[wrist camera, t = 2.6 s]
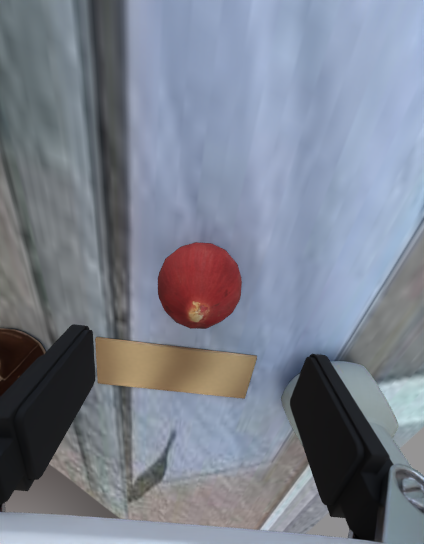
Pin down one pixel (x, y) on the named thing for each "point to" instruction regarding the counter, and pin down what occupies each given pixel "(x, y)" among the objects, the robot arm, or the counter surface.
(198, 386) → the row strip
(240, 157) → the counter surface
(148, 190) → the counter surface
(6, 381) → the coffee cup
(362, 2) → the counter surface
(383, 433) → the air freshener
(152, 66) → the counter surface
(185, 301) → the onion
